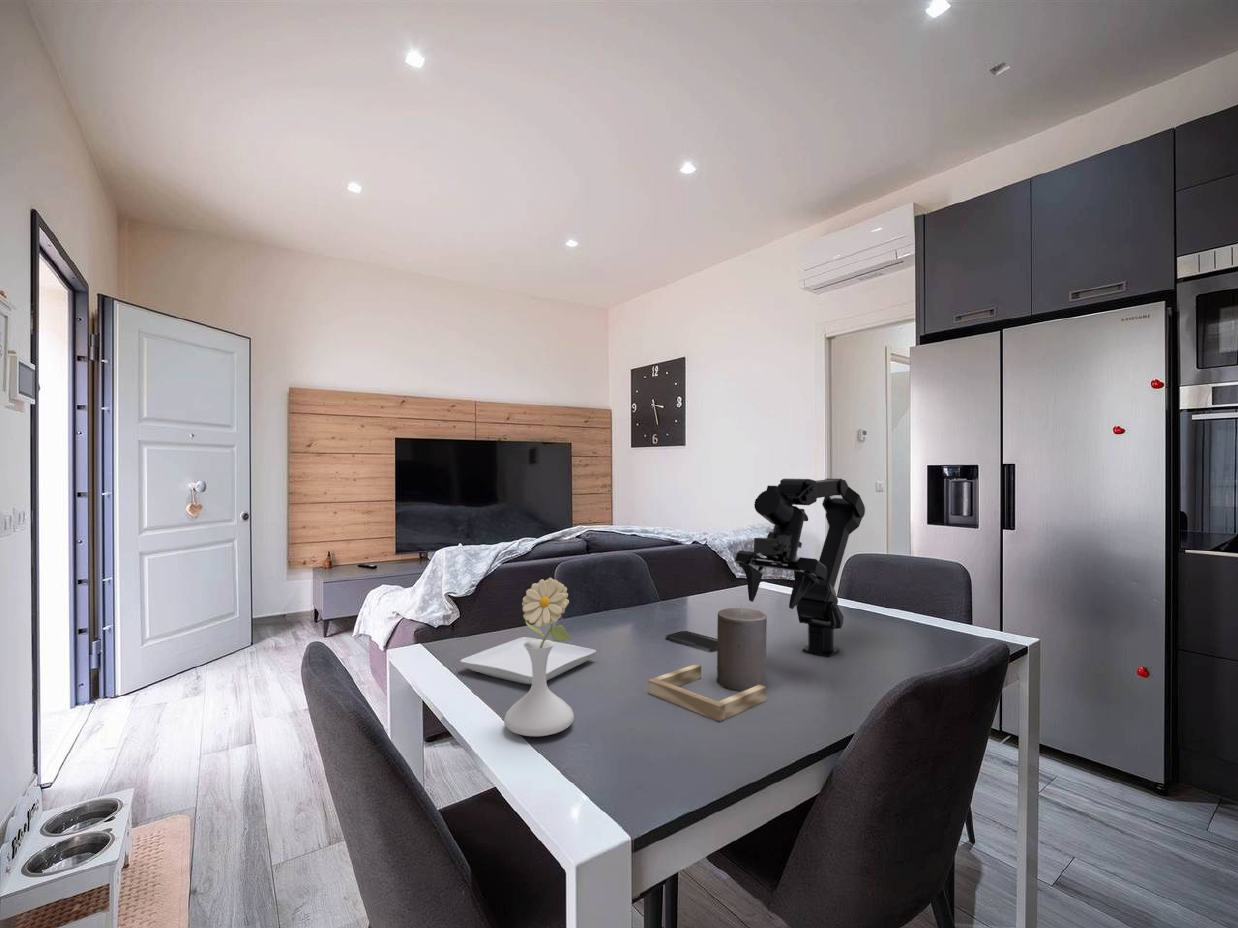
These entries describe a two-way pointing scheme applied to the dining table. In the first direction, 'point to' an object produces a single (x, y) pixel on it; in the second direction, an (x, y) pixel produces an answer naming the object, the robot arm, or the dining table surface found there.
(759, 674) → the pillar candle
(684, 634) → the phone
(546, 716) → the flower in vase
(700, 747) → the dining table surface
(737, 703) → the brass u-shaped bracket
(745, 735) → the dining table surface
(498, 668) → the salad plate
